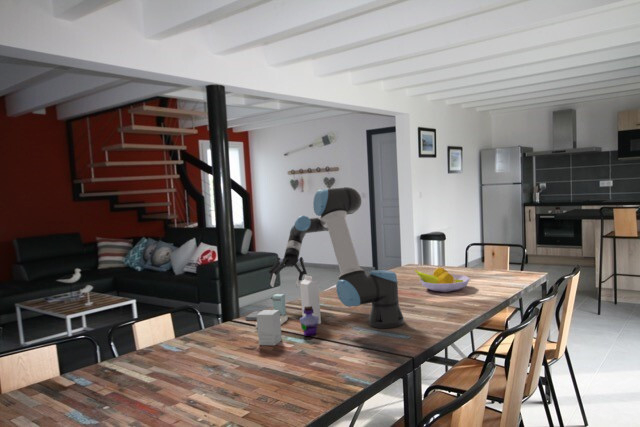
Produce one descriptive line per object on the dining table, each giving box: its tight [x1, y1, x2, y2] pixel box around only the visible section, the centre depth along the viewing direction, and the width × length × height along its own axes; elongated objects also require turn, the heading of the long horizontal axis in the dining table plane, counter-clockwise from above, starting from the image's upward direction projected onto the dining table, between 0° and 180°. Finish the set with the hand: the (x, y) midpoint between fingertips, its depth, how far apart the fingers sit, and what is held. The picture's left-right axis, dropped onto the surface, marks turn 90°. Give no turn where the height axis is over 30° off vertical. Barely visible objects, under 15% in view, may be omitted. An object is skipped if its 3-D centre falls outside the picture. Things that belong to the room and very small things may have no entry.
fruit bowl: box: [414, 267, 471, 293], centre depth 264 cm, size 28×27×11 cm
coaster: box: [245, 310, 261, 321], centre depth 235 cm, size 10×10×2 cm
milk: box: [299, 274, 322, 325], centre depth 216 cm, size 6×6×22 cm
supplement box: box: [256, 309, 283, 346], centre depth 194 cm, size 7×7×13 cm
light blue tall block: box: [271, 293, 287, 315], centre depth 231 cm, size 5×4×11 cm
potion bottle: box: [299, 306, 319, 338], centre depth 201 cm, size 9×9×12 cm
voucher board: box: [255, 314, 288, 329], centre depth 222 cm, size 14×10×2 cm
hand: (284, 285), depth 239 cm, fingers open, 13 cm apart
